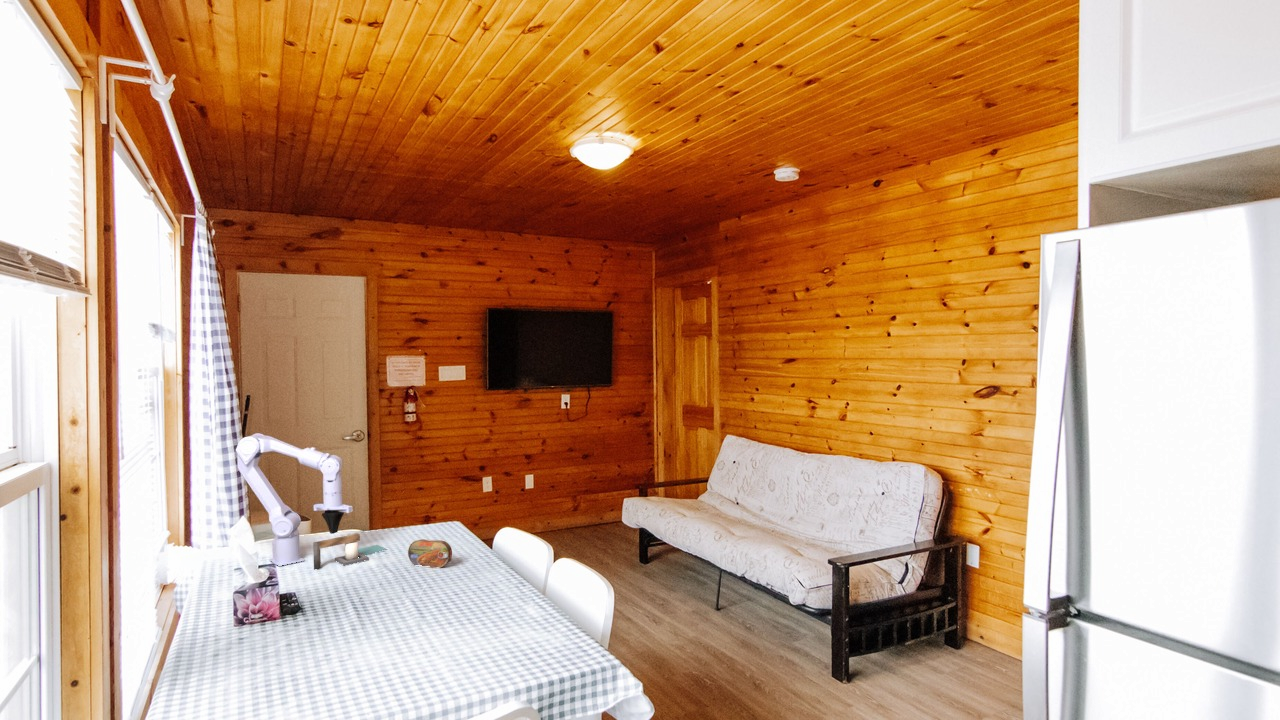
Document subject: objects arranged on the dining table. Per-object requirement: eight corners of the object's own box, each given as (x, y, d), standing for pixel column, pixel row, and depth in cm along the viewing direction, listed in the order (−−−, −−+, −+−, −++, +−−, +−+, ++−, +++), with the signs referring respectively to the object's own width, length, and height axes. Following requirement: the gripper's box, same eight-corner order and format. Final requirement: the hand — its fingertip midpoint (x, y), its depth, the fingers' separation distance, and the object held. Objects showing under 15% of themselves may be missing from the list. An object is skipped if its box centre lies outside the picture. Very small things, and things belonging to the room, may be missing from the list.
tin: (407, 565, 219) (407, 539, 218) (413, 562, 222) (413, 537, 221) (448, 569, 214) (447, 542, 214) (454, 566, 217) (453, 540, 217)
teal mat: (354, 551, 235) (354, 549, 235) (376, 546, 241) (376, 544, 241) (364, 555, 230) (364, 554, 230) (387, 550, 235) (387, 549, 235)
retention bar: (315, 570, 215) (314, 543, 215) (312, 568, 217) (312, 542, 217) (360, 559, 226) (360, 534, 226) (358, 558, 227) (357, 533, 227)
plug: (343, 560, 225) (342, 542, 225) (355, 557, 228) (354, 540, 227) (348, 563, 222) (347, 545, 222) (360, 560, 225) (359, 542, 225)
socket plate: (334, 560, 225) (334, 557, 225) (358, 555, 230) (358, 552, 230) (344, 565, 219) (344, 562, 219) (368, 560, 225) (368, 557, 225)
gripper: (306, 493, 226) (307, 534, 226) (341, 496, 221) (342, 537, 221) (322, 489, 232) (323, 528, 233) (356, 491, 228) (357, 531, 228)
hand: (333, 532), depth 227 cm, fingers closed
